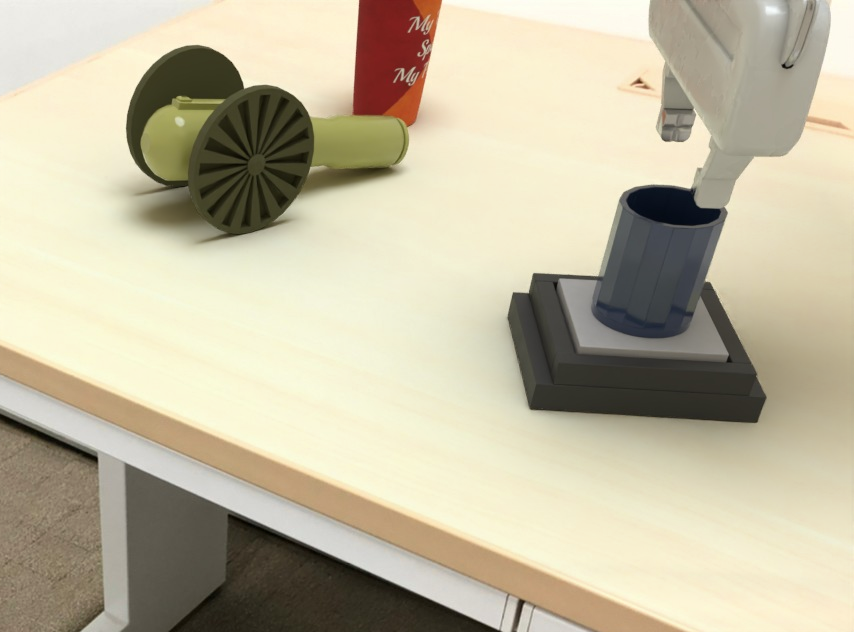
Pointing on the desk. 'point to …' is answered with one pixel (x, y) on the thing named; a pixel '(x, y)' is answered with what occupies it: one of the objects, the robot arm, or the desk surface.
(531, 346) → the scale
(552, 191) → the desk surface
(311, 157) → the cannon
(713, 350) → the pan
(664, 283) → the small cup
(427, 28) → the coffee cup
